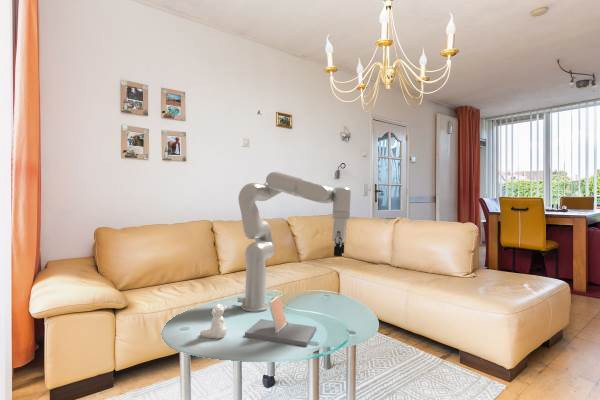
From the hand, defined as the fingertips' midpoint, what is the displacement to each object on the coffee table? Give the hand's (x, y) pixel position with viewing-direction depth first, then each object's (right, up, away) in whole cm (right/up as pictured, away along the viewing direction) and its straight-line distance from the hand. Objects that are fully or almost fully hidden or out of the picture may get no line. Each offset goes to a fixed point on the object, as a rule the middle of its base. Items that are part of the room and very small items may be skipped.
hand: (338, 254), depth 144 cm
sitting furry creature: (-48, -27, -21) cm, 59 cm away
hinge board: (-24, -28, -16) cm, 40 cm away
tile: (-26, -20, -16) cm, 37 cm away
